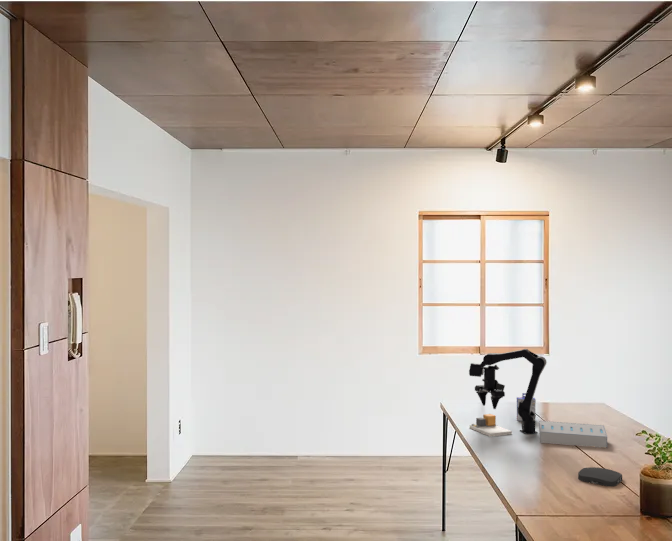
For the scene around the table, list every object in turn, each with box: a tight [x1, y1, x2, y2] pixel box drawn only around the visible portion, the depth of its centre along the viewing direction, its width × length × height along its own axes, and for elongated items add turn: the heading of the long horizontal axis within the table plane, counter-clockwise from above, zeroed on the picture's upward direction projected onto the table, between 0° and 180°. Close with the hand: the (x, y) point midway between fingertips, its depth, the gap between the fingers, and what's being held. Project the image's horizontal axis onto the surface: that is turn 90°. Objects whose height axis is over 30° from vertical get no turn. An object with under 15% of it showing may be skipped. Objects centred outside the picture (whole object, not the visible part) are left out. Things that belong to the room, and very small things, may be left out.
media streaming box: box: [577, 466, 623, 487], centre depth 252 cm, size 15×15×3 cm
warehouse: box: [538, 420, 608, 448], centre depth 307 cm, size 30×14×8 cm, turn 73°
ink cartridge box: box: [516, 392, 537, 422], centre depth 350 cm, size 10×6×14 cm, turn 81°
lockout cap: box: [482, 413, 497, 426], centre depth 333 cm, size 4×4×5 cm
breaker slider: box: [475, 417, 486, 426], centre depth 331 cm, size 4×3×4 cm
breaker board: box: [469, 423, 513, 438], centre depth 326 cm, size 18×13×2 cm
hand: (489, 407), depth 333 cm, fingers open, 9 cm apart
